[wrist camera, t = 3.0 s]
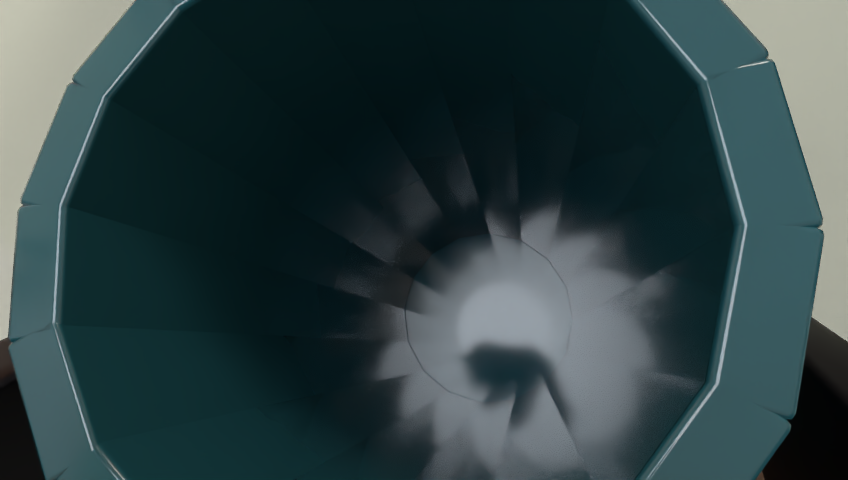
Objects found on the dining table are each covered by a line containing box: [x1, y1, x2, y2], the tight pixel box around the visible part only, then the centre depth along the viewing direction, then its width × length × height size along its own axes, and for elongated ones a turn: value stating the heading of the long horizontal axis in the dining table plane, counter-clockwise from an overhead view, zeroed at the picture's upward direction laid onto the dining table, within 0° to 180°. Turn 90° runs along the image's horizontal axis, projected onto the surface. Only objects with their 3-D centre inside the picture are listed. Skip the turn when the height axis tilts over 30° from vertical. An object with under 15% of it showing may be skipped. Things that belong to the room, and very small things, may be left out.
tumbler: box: [8, 0, 824, 480], centre depth 10 cm, size 6×6×13 cm
